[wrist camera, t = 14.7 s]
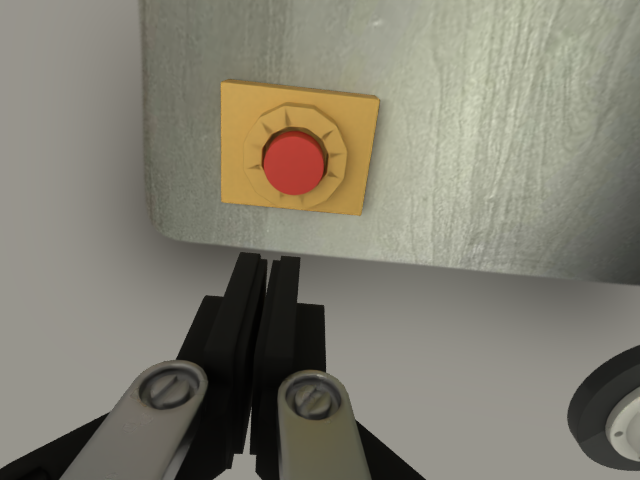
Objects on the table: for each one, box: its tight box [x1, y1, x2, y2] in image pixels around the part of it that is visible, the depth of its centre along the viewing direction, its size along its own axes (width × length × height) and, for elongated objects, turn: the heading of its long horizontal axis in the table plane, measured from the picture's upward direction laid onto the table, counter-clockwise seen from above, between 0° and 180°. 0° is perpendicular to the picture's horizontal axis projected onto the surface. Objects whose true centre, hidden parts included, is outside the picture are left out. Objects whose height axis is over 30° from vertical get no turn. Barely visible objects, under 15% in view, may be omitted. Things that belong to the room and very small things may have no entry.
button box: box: [221, 79, 380, 216], centre depth 27 cm, size 10×8×4 cm
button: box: [264, 131, 324, 195], centre depth 24 cm, size 4×4×2 cm
